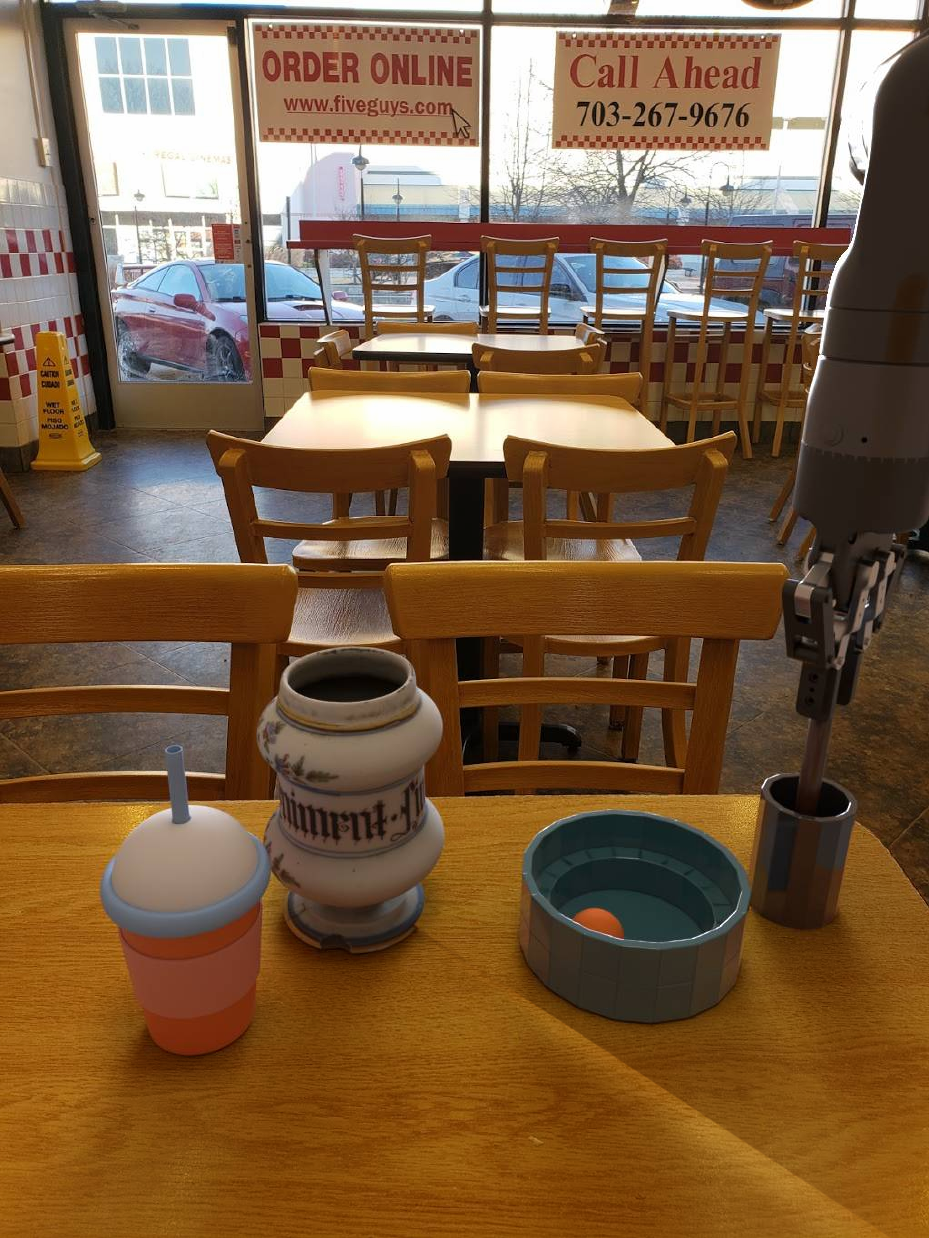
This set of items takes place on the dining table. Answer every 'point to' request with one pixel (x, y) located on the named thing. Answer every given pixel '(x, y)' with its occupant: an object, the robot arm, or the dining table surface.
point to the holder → (800, 853)
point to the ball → (600, 922)
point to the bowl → (634, 914)
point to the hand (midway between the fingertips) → (824, 707)
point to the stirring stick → (813, 767)
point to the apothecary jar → (351, 797)
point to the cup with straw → (190, 919)
